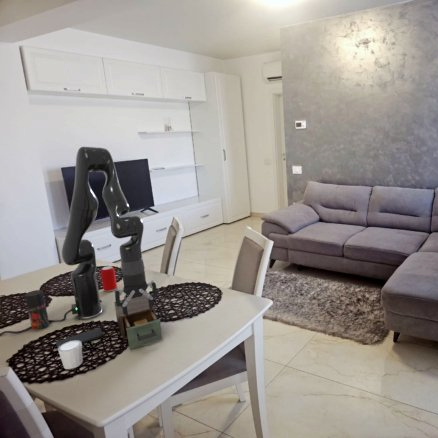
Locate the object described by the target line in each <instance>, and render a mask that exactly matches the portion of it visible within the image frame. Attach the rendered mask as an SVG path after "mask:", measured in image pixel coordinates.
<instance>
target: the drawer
mask: <svg viewBox="0 0 438 438" xmlns="http://www.w3.org/2000/svg"><path fill="white" fill-rule="evenodd" d="M144 319H146V320H147V323H144V324H140V325H137V326H134V322H137V321H140V320H144ZM123 321H124V328H125V332H126V335H127V338H128V339H127V343H128V349H129V350H133V349H137V348H139V347H143V346H145V345H149V344H152V343H155V342H159V341H162V340H163V330H162V323H161V319H160V318H158V319H157V316H156V317H155V315H154V313H153V312H152V310H150V311H147V312H143V313H139V314H136V315H132V316H128V317H125V318H123Z"/></svg>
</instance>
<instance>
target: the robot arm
mask: <svg viewBox="0 0 438 438" xmlns="http://www.w3.org/2000/svg"><path fill="white" fill-rule="evenodd" d="M74 170H75V171H74V174H75V175H74V186H73V192H72V198H71V203H70V209H69V218H68V224H67V229H66V234H65V237H64V241H63V244H62V248H61V258H62V261H63V262H64V264H65V265H67V266H70V267H71V266H76V265H77V267H76V268H75V269H73V270H72V271H71V272H70V279H71V285H72V290H73V295H74V302H75V303H73V304H71V309H69V310H68V311H66V312H65V313H64V315H63V318H62V319H59V320H55V319H48V320H49V323H57V322H64V321H65V320H66V319H67V315H68V314H70V313H72V316H73V315H77V319H78V320H79V321H80V320H89V319H93V318H96V317H98V316H100V315H101V314H102V313H103V309H102V308H103V307H102V303H103V301H102V300H101V297H100V291H99V284H98V278H97V259H96V250H95V247H94V244H93V243H92V242H91V241H90V240H89V239H85V238H84V239H83V237H84V236H85V234H86V233H87V231H88V230H89V229H90V228H91V226H92V225H93V224H94V222H95V220H96V218H97V214H98V208H99V199H98V197H97V195H96V194H95V192H94V191H93V189H92V187H91V185H90V181H89V174H90V173H103V175H104V177H105V183H104V185H103V188H102V193H101V195H102V196H101V197H102V200H103V203H104V205H105V207H106V210H107V212H108V215H109V223H110V232H111V234H112V236H113V237H114V238H115V239H124V238H128V237H130V238H129V240H128V241H126V242H124V243H122V244H120V246H119V257H120V268H121V274H122V282H123V288H121V289H120V288H116V289H115V290H114V298H115V299H114V301H115V302H116V305H117V307H119V306H121V307H122V310H123V314H124V315H126V316H128V311H127V306H126V305H127V303H128V302H129V301H130V299H131V298H136V297H141V296H142V295H145V296H146V297H147V298H149V299H148V301H149V308H150V309H152V307H154V306H155V305H154V304H155V303H154V299H155V298H158V297H159V293H158V288H157V283H156V282H155V280H150V282H147V278H146V270H145V263H144V260H143V252H142V240H143V235H144V225H145V224H144V221H143V220H142V218H141V217H140V216H138V215H130V216H126V215H127V214H128V213H129V212H130V209H131V208H130V205H129V203H128V200H127V199H126V197H125V194H124V192H123V190H122V188H121V185H120V182H119V181H120V180H119V177H118V173H117V170H116V166H115V163H114V159H113V156H112V154H111V152H110V151H109V150H108V149H107V148H104V147H95V146H81V147H80V148H78V149H77V153H76V157H75V169H74ZM148 288H150V289H151V290H152V293H151V294H150V293H149V292H148V291H147V289H148ZM123 293H124V294H125V295H124V297H123V299H122V300H123V301H122V302H120V300H121V296H122V294H123ZM30 329H31V330H32V327H31V326H28V327H27V328H24V329H21V330H16V331H14V330H4V331H2V332H0V337H2V335H4V334H20V333H23V332H26V331H29V330H30Z"/></svg>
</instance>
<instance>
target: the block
mask: <svg viewBox="0 0 438 438" xmlns="http://www.w3.org/2000/svg"><path fill="white" fill-rule="evenodd" d="M144 323H147V320H146V319H144V320H140V321H137V322H134V326H137V325H140V324H144Z"/></svg>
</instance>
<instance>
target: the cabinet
mask: <svg viewBox="0 0 438 438" xmlns="http://www.w3.org/2000/svg"><path fill="white" fill-rule="evenodd" d="M148 299H149V298H147V297H146V296H145V295H142V296H141V297H136V298H131V299H130V301H129V302H128V303H127V305H126V306H127V311H128V316H132V315H136V314H139V313H143V312H147V311H150V310H152V312H153V313H154V315H155V317H156V318H157V310H156V306H155V305H154V307H152V309H150V308H149V301H148ZM122 301H123V299H120V302H122ZM113 303H114V311H115V316H116V317H115V318H116V323H117V326H118V329H119V331H120V334H121V337H122V339H123V340H128V338H127V335H126V332H125V328H124V321H123V318H125V317H128V316H126V315H124V314H123V310H122V307H121V306H119V307H117V305H116V301H114V302H113Z"/></svg>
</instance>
